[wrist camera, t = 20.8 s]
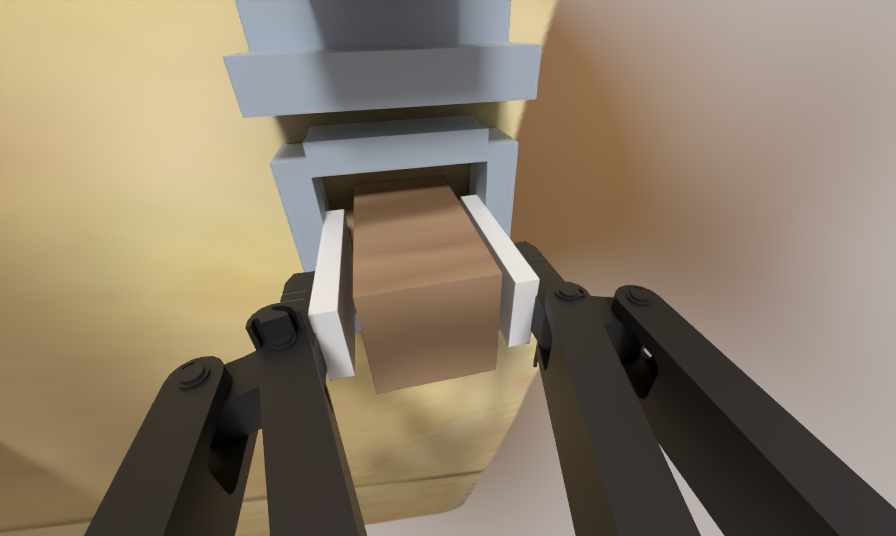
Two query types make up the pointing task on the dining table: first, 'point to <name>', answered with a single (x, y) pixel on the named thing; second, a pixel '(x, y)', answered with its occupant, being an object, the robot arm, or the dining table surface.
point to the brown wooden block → (422, 284)
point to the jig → (382, 93)
